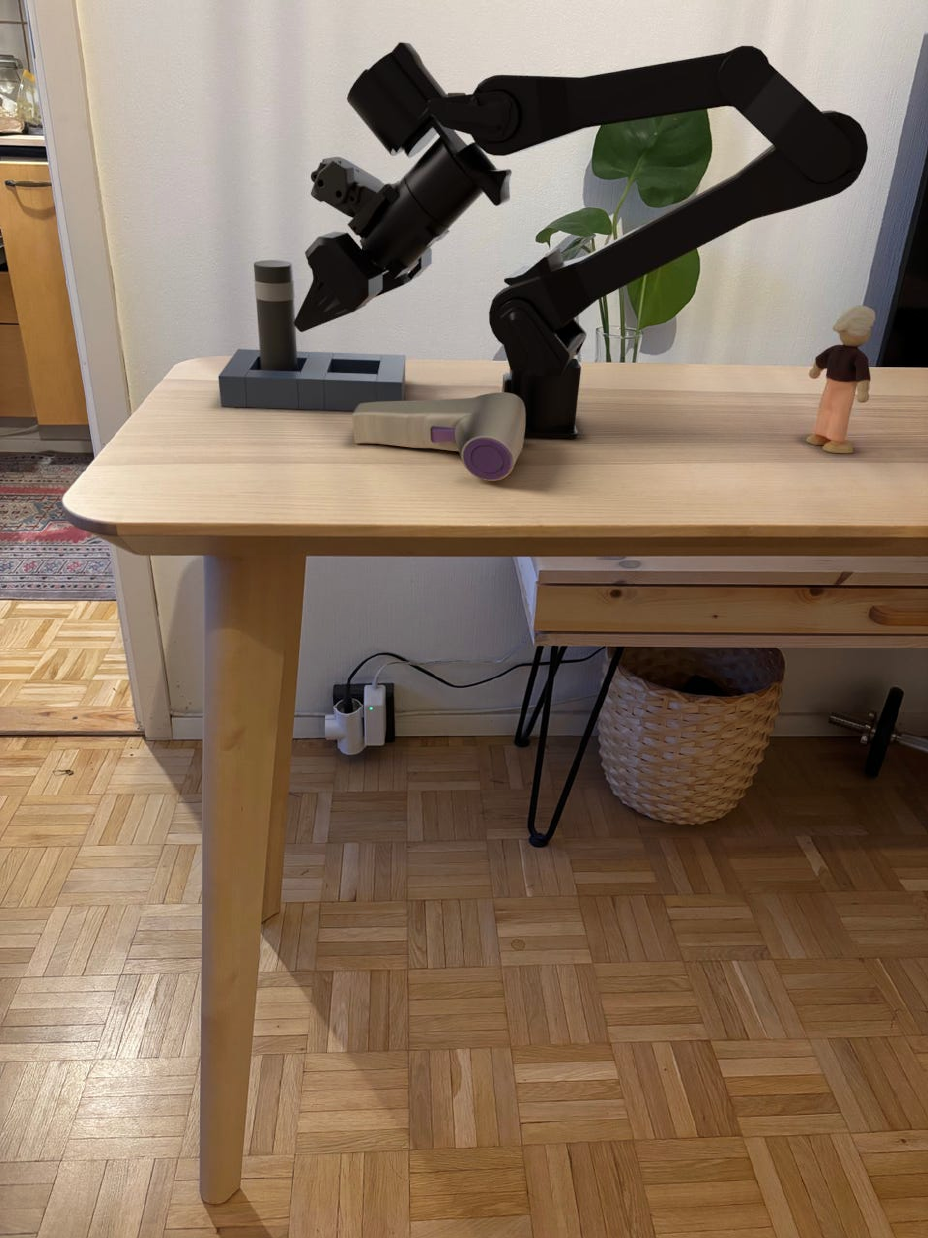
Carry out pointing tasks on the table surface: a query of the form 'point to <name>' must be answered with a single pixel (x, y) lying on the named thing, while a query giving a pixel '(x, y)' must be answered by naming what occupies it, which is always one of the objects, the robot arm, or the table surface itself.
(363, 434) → the infrared thermometer
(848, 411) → the grandmother figurine
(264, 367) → the dark grey banded cylinder
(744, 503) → the table surface
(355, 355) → the grey flat block
